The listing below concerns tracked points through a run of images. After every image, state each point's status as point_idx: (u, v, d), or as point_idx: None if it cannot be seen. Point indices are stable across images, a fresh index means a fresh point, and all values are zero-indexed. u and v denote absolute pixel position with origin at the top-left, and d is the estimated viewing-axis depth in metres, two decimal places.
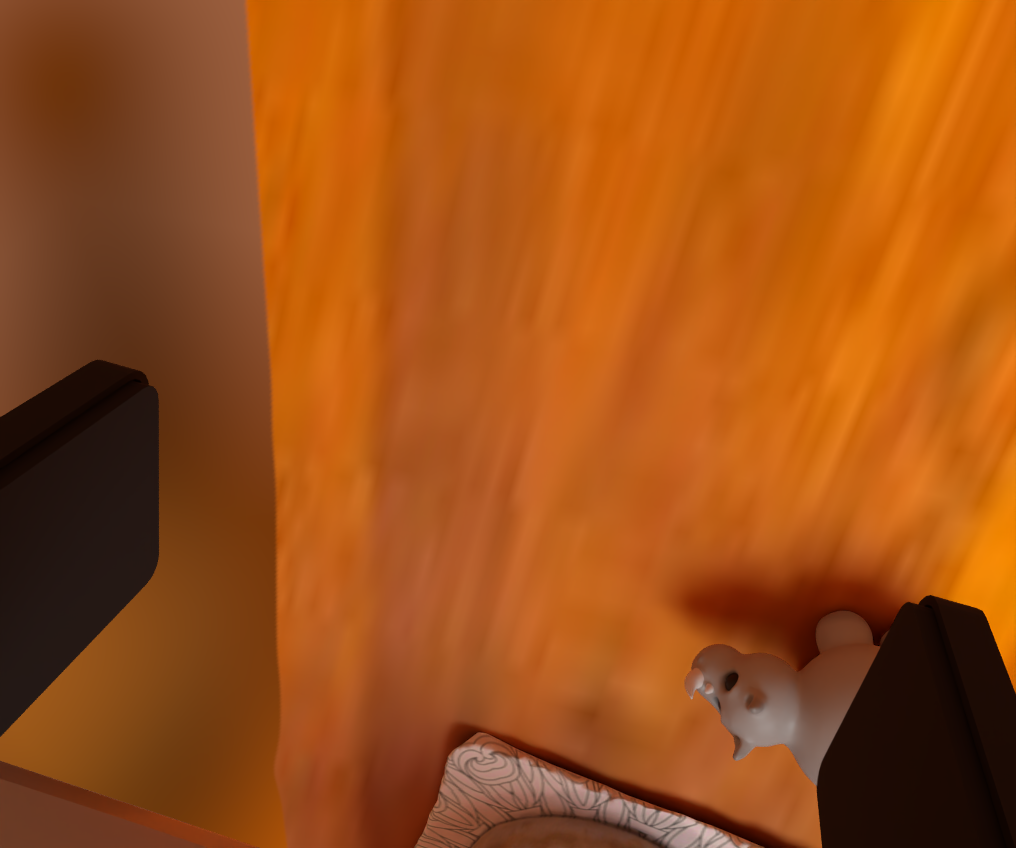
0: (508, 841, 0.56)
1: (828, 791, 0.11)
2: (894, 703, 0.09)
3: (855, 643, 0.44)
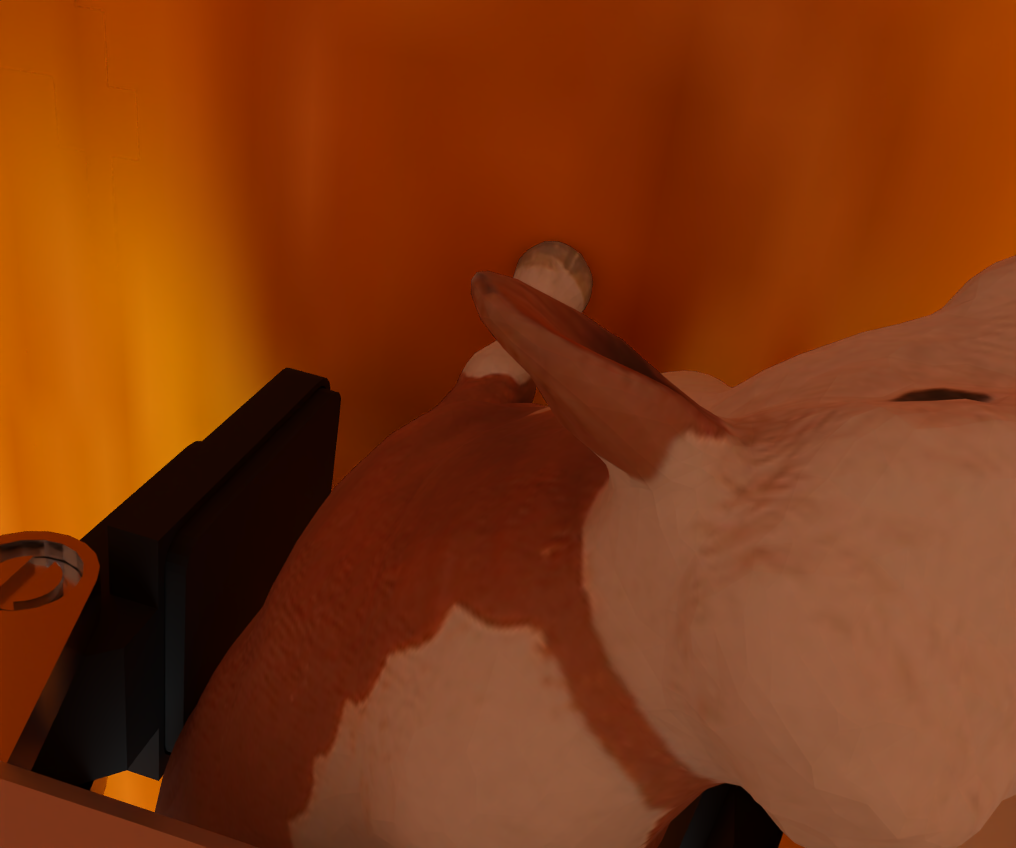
0: None
1: None
2: None
3: None
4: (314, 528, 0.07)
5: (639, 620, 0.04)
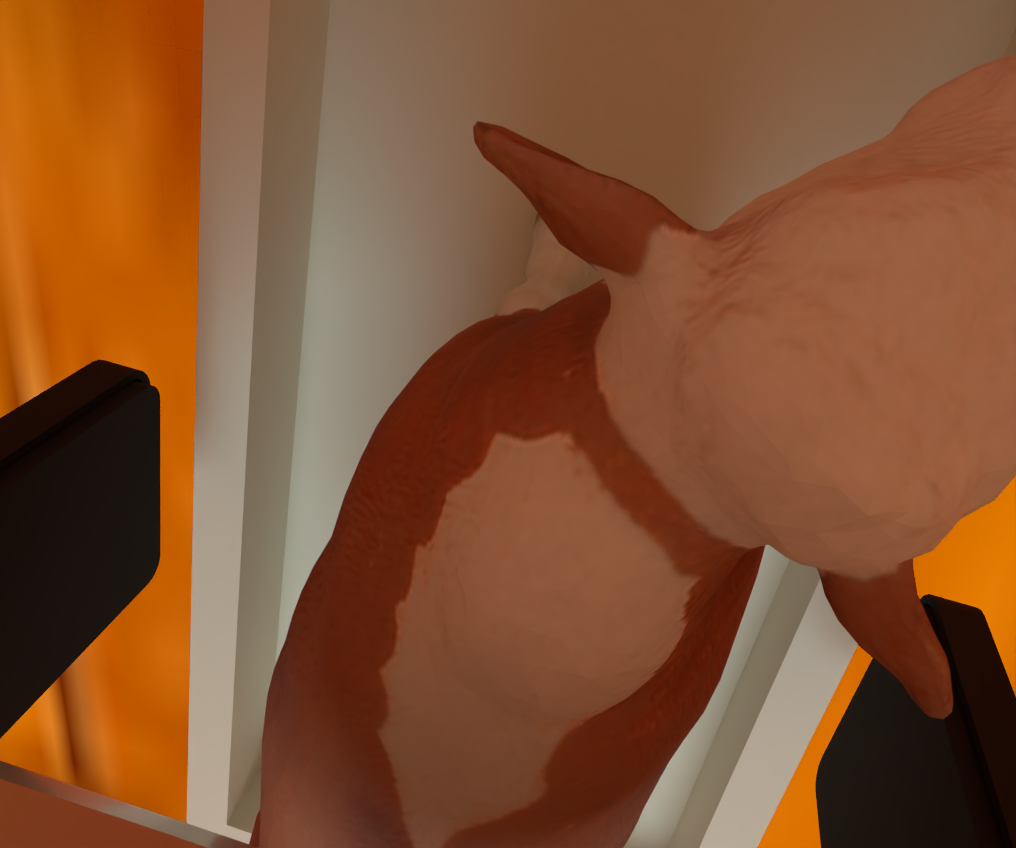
0: None
1: (827, 790, 0.11)
2: (892, 702, 0.09)
3: None
4: (375, 436, 0.08)
5: (647, 403, 0.05)
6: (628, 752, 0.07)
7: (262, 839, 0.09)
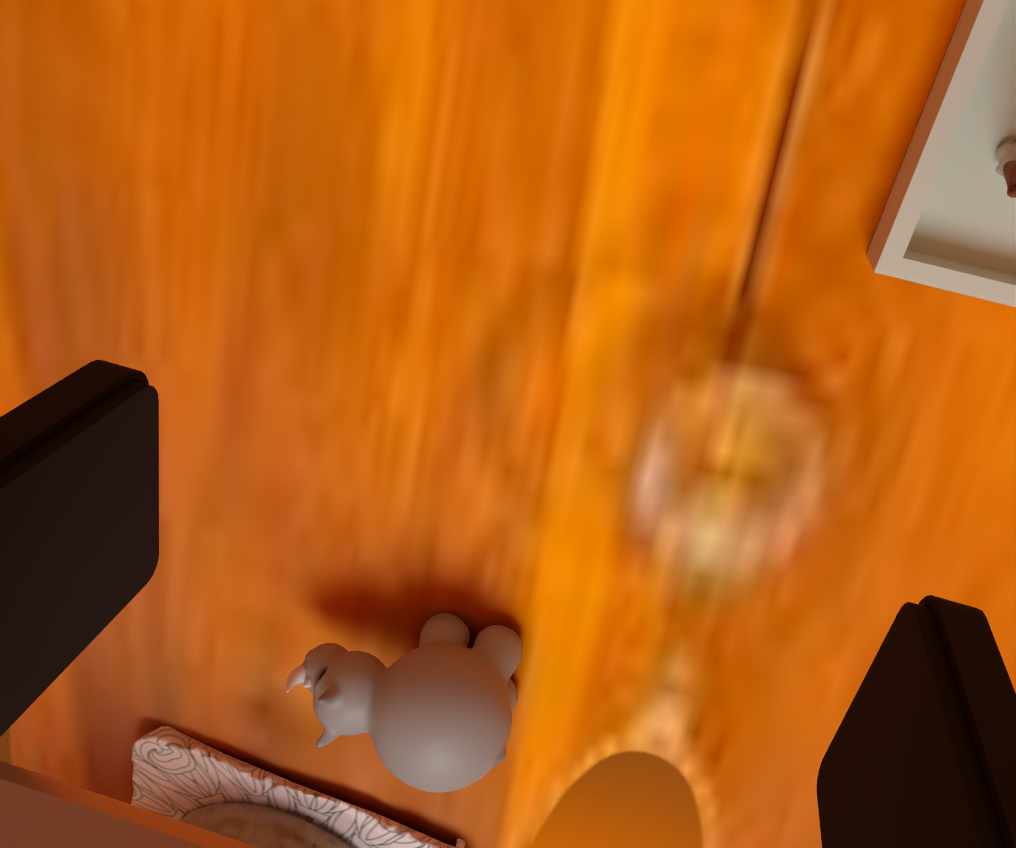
0: None
1: (828, 791, 0.11)
2: (894, 703, 0.09)
3: (438, 642, 0.49)
4: None
5: None
6: None
7: None
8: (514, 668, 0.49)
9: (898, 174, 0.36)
